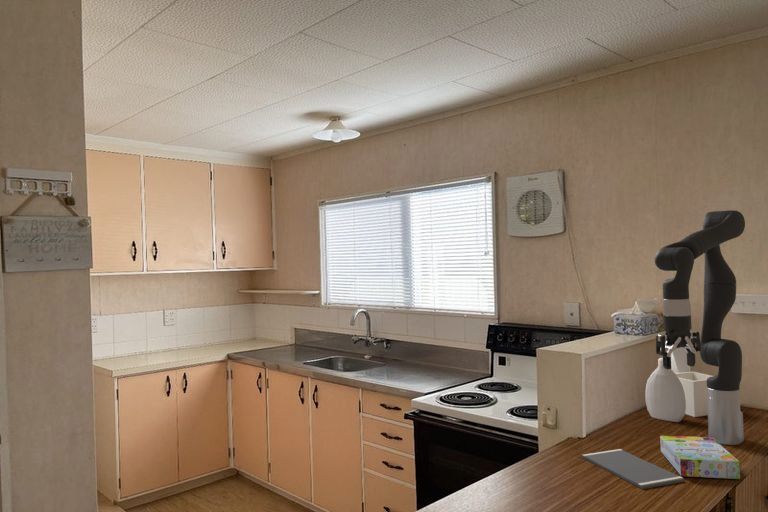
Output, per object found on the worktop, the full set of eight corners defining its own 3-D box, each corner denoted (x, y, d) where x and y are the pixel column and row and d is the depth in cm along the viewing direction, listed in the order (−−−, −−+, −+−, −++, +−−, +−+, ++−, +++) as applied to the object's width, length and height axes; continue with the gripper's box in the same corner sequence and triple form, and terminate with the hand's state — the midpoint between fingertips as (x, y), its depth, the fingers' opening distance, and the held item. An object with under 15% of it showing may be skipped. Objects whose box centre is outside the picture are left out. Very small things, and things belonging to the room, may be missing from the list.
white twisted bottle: (687, 400, 237) (685, 333, 237) (695, 405, 229) (693, 336, 229) (668, 400, 238) (665, 333, 238) (675, 405, 230) (673, 336, 230)
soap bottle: (692, 421, 207) (689, 348, 208) (682, 426, 202) (679, 351, 202) (652, 414, 219) (650, 344, 219) (642, 418, 214) (639, 346, 214)
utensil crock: (694, 406, 228) (693, 371, 228) (724, 415, 214) (723, 378, 215) (665, 410, 224) (664, 374, 224) (694, 419, 210) (693, 381, 211)
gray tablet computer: (619, 451, 179) (619, 448, 179) (684, 481, 155) (684, 478, 155) (581, 457, 175) (581, 454, 175) (642, 489, 151) (642, 485, 151)
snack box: (680, 478, 157) (741, 480, 154) (679, 458, 157) (739, 459, 154) (660, 452, 178) (713, 453, 175) (659, 434, 178) (712, 435, 175)
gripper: (686, 310, 176) (688, 363, 176) (648, 314, 173) (650, 367, 173) (706, 313, 169) (708, 367, 169) (666, 316, 165) (669, 372, 165)
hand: (679, 367), depth 171 cm, fingers open, 8 cm apart
